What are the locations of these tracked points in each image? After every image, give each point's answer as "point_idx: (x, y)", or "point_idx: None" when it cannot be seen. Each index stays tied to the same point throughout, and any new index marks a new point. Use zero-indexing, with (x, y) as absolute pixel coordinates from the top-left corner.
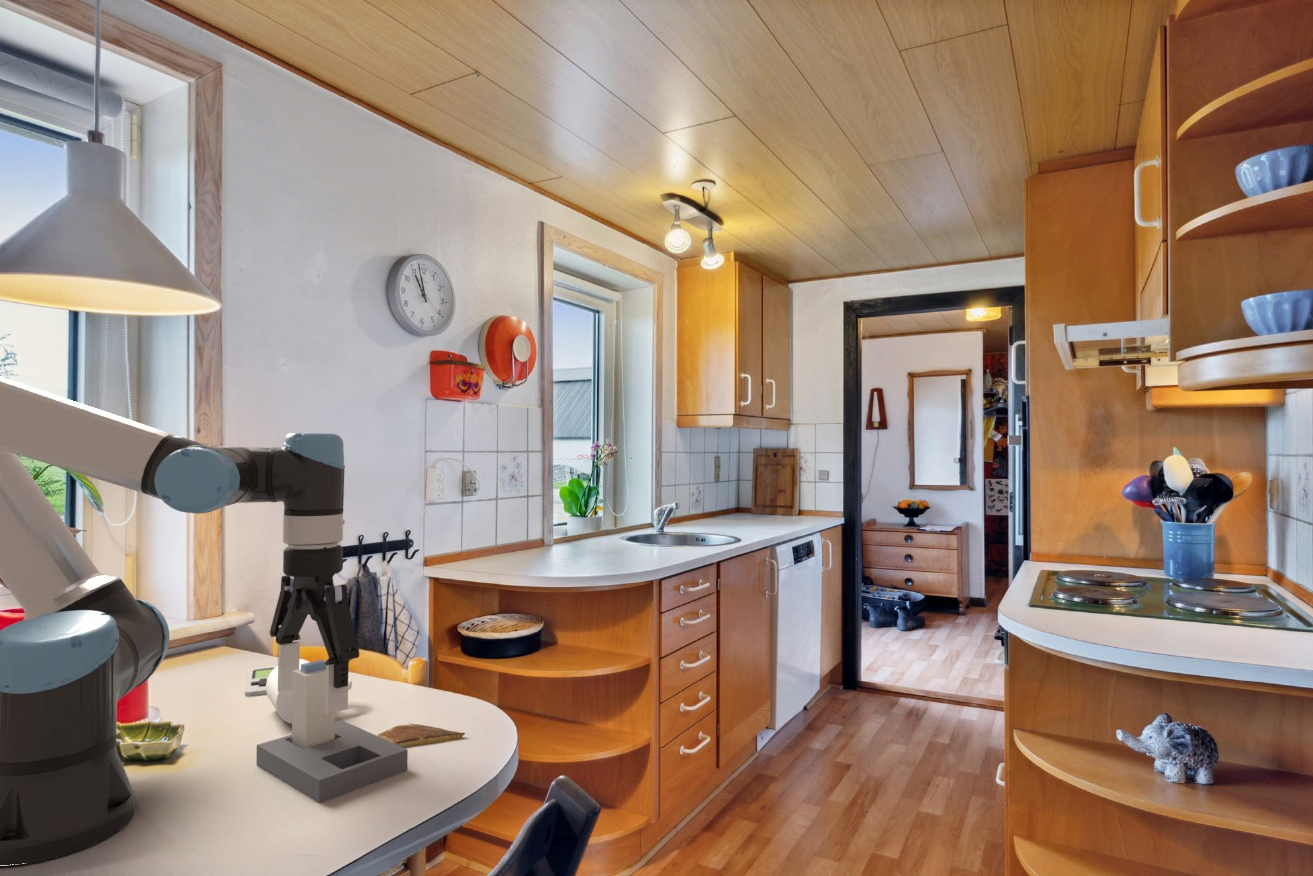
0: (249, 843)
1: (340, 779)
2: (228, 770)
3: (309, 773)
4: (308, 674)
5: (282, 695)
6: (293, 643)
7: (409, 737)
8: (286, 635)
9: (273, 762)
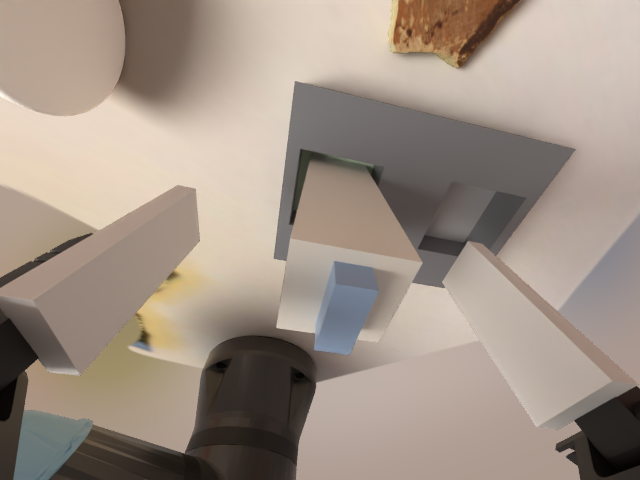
0: (434, 331)
1: None
2: (256, 258)
3: (439, 285)
4: (368, 331)
5: (47, 101)
6: (47, 328)
7: (487, 2)
8: (3, 430)
9: None
